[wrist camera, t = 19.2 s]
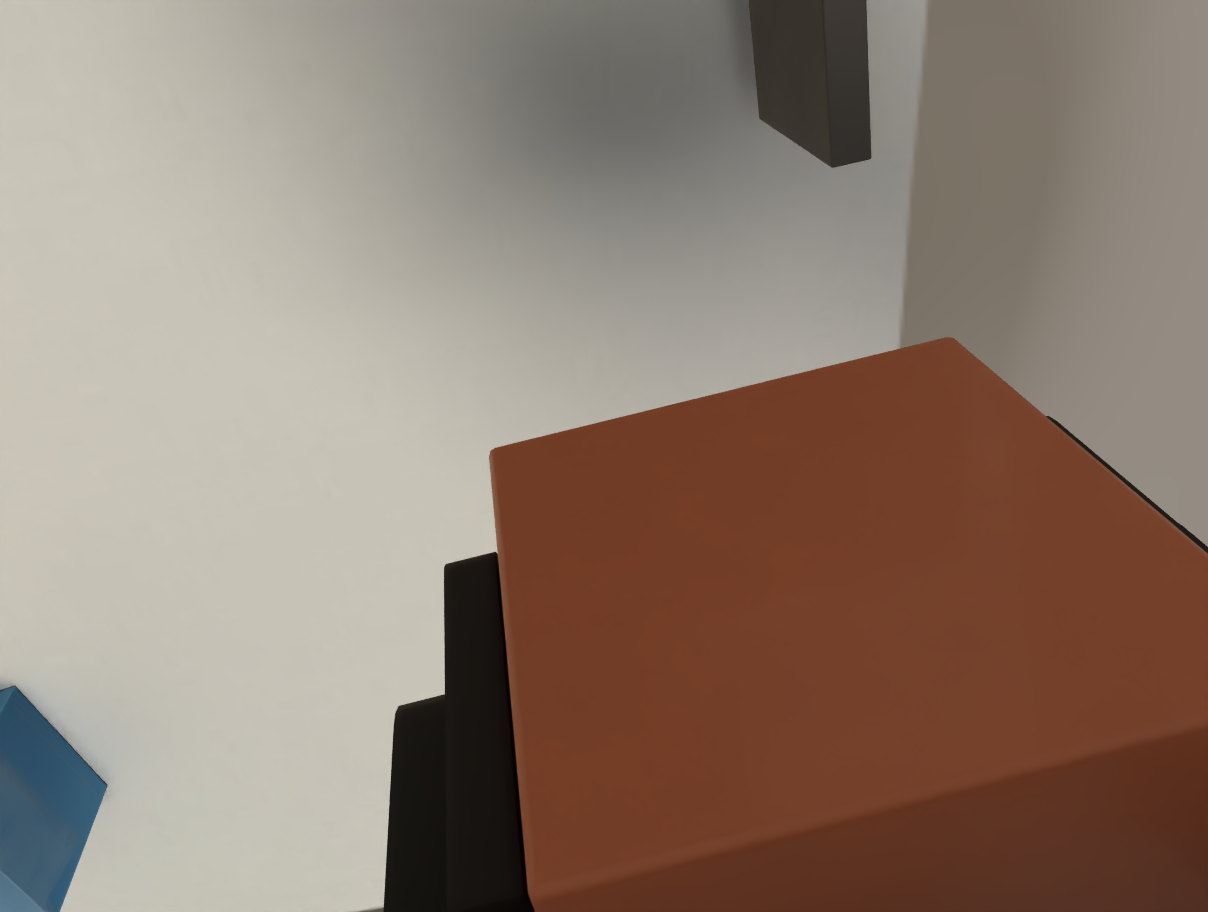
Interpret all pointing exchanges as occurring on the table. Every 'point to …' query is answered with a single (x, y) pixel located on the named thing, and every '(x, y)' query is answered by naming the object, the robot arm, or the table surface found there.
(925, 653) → the block
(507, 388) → the table surface
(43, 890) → the perfume bottle
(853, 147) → the door
